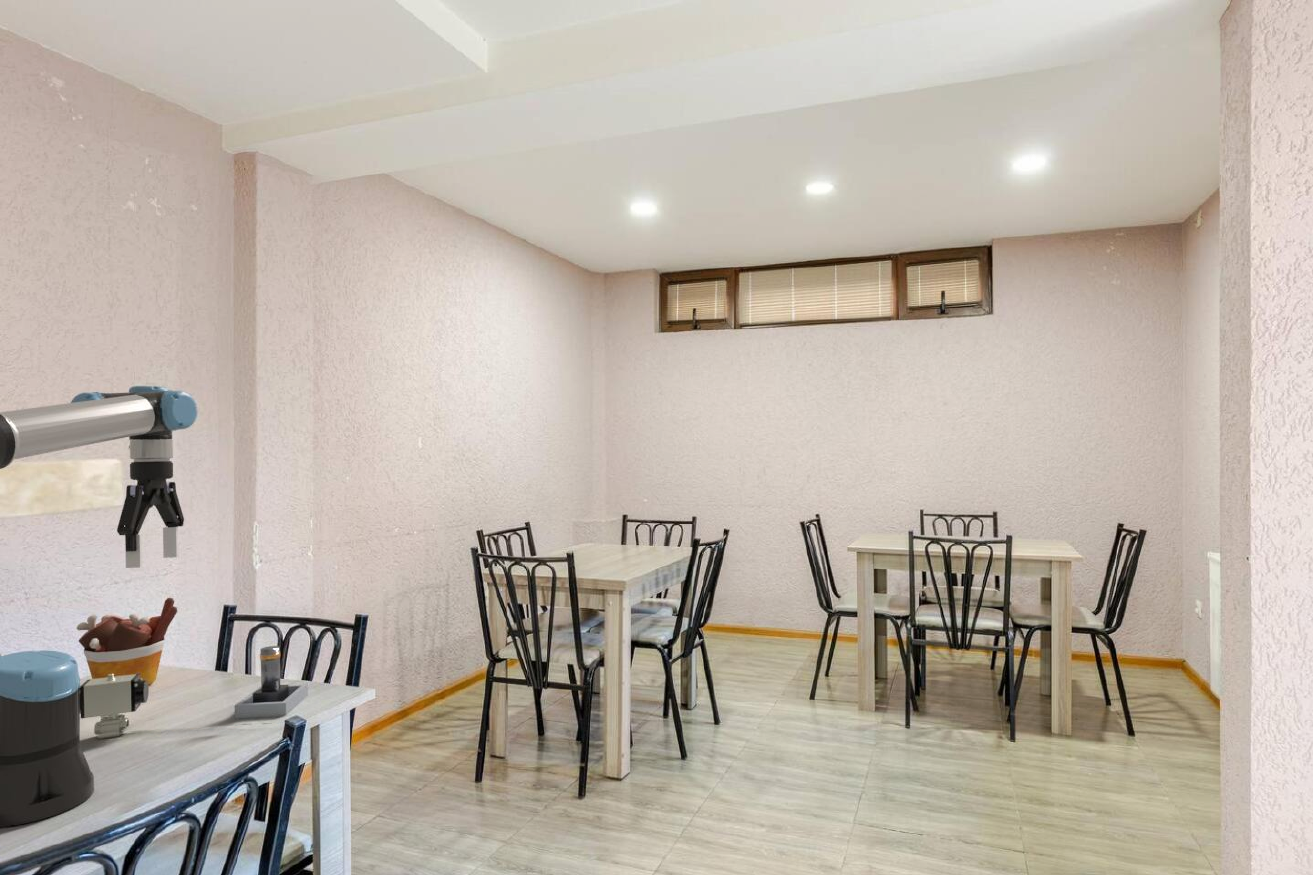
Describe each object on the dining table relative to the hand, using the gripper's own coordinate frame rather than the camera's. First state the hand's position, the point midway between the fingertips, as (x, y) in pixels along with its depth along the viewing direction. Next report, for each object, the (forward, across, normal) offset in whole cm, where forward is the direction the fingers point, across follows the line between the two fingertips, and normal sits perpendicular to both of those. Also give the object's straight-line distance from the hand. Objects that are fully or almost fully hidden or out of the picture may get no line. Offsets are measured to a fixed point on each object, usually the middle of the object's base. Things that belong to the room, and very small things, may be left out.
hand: (153, 562), depth 159 cm
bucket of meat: (+33, -24, -19) cm, 45 cm away
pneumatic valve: (+33, +8, -4) cm, 34 cm away
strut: (+32, +1, +24) cm, 39 cm away
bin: (+32, 0, +24) cm, 40 cm away
